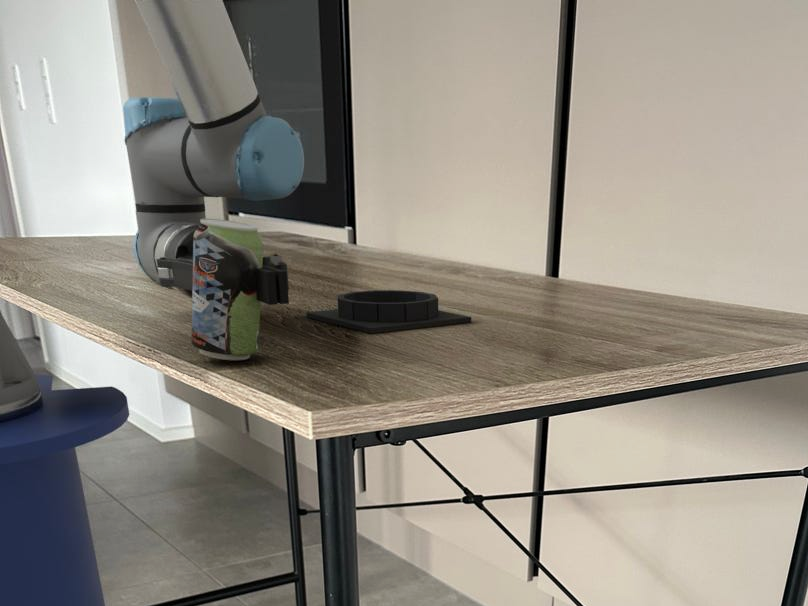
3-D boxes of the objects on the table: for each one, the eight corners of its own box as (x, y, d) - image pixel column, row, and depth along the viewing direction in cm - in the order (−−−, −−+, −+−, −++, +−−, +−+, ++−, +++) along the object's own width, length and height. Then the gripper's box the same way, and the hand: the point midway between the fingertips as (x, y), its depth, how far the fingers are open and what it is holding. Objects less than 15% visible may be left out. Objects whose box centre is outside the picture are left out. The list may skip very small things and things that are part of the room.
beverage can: (197, 353, 91) (179, 217, 85) (274, 351, 92) (262, 216, 86) (190, 365, 85) (170, 221, 80) (272, 363, 86) (258, 220, 81)
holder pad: (371, 333, 102) (370, 308, 101) (306, 317, 112) (304, 294, 111) (471, 322, 110) (471, 298, 109) (403, 307, 120) (402, 286, 118)
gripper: (264, 296, 105) (350, 327, 87) (142, 303, 99) (207, 338, 81) (257, 223, 102) (345, 239, 84) (130, 226, 96) (196, 244, 78)
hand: (277, 288), depth 83 cm, fingers closed on beverage can
